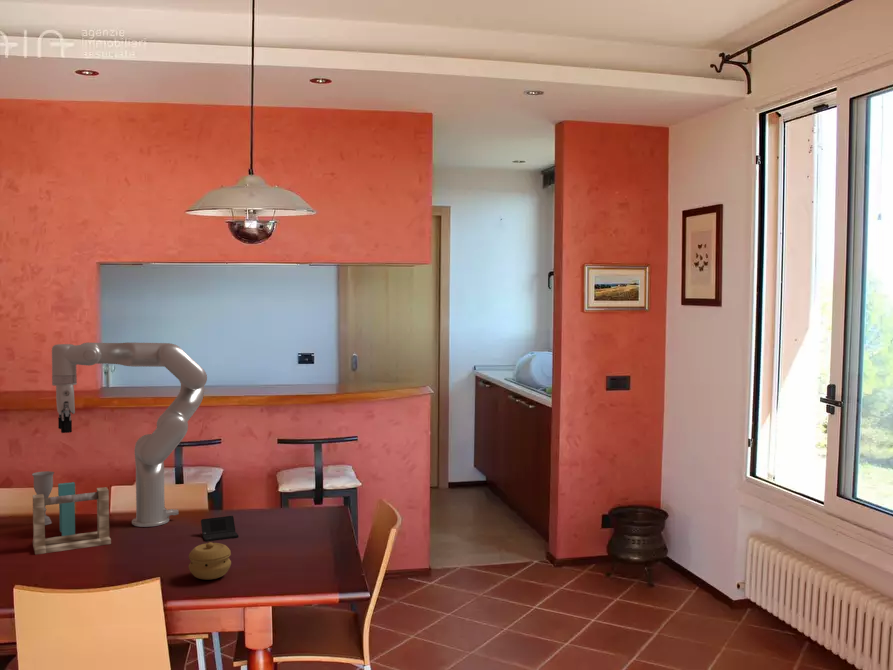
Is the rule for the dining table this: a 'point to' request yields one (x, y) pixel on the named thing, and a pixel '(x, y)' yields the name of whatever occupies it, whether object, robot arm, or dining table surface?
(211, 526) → the handheld gaming console
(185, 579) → the dining table surface
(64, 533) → the teal rectangular block
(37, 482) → the chalice
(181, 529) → the dining table surface
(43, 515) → the rack
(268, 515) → the dining table surface
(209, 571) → the pot
